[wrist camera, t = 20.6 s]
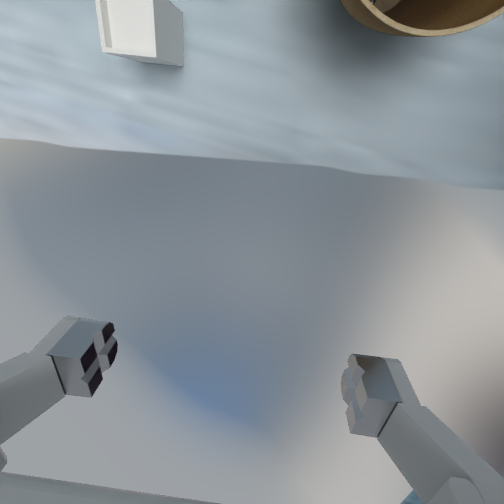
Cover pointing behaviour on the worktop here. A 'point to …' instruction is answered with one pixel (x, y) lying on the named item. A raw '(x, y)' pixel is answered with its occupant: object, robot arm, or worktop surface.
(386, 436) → the robot arm
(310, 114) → the worktop surface
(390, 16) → the plant pot
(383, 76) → the worktop surface
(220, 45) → the worktop surface
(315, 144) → the worktop surface
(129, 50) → the cup post
